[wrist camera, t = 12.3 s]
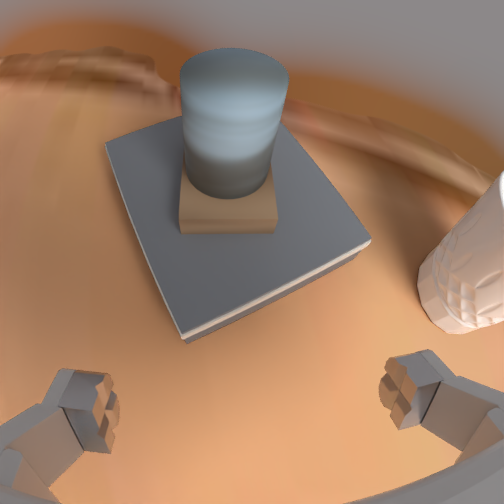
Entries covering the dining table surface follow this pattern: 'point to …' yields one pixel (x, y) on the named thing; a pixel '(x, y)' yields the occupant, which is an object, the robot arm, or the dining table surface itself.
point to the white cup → (468, 269)
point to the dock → (230, 245)
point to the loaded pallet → (230, 141)
